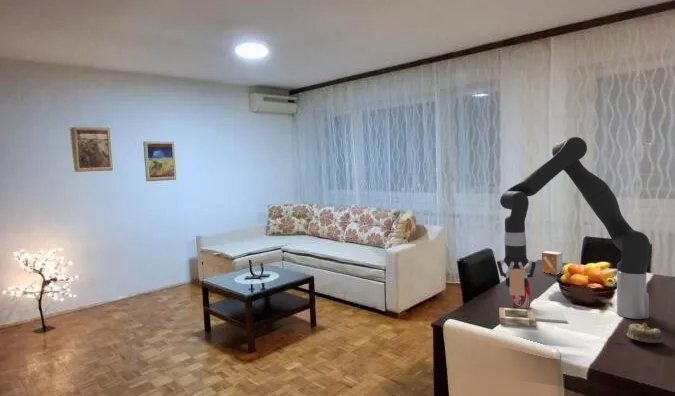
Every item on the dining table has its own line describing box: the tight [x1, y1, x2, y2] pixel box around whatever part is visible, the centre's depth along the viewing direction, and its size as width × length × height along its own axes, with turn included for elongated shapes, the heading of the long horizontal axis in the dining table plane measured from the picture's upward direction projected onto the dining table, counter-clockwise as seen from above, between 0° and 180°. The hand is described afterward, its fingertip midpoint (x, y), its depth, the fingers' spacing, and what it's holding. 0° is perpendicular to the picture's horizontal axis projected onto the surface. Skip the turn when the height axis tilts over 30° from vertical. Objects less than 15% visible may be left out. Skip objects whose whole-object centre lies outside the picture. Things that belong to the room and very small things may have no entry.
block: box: [508, 268, 525, 296], centre depth 154 cm, size 5×5×10 cm
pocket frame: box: [498, 307, 536, 328], centre depth 155 cm, size 12×12×2 cm
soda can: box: [511, 278, 532, 309], centre depth 170 cm, size 7×7×12 cm
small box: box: [541, 250, 563, 276], centre depth 215 cm, size 8×6×13 cm
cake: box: [626, 322, 664, 344], centre depth 135 cm, size 10×10×5 cm
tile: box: [531, 308, 568, 324], centre depth 158 cm, size 11×11×1 cm
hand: (516, 287), depth 154 cm, fingers closed on block, 5 cm apart
